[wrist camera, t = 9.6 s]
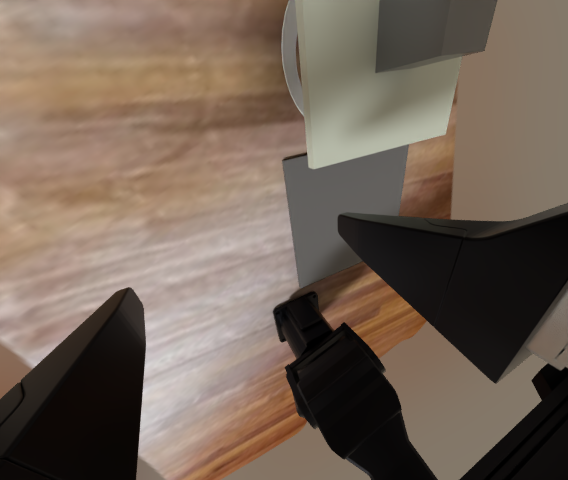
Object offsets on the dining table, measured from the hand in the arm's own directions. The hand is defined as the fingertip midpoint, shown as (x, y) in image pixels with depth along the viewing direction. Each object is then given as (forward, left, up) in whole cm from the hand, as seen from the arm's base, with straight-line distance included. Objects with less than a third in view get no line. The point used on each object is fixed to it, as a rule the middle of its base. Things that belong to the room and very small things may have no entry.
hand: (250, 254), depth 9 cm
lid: (+8, -14, -7) cm, 18 cm away
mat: (-7, -15, -12) cm, 20 cm away
